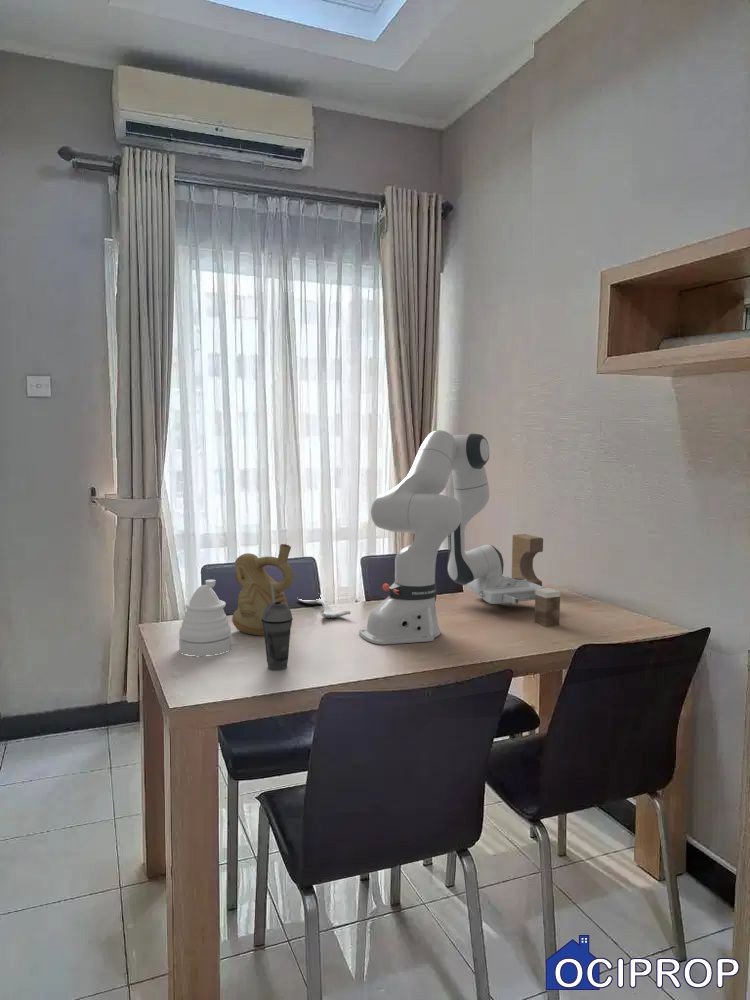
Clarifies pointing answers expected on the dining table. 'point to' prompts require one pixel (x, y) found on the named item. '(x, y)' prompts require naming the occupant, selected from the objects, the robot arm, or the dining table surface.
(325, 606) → the white slender handled part
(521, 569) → the decorative block
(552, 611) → the walnut block
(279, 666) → the beverage cup
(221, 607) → the honey pot
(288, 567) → the ceramic vessel
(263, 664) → the dining table surface
